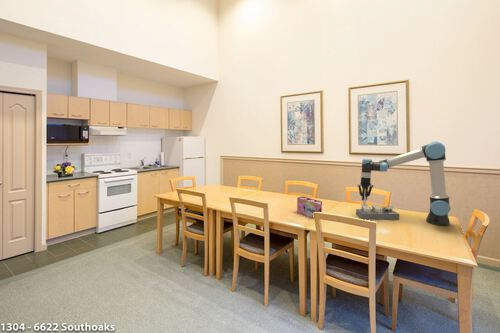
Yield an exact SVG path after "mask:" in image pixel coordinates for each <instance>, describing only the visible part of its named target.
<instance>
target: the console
mask: <svg viewBox="0 0 500 333" xmlns="http://www.w3.org/2000/svg"><path fill="white" fill-rule="evenodd" d="M379 207H380V208H381V210H382V207H383V210H382V212H375V210H374V207H372V206H371V207H370V206H369V208H370V209H371V212H364V210H363V207H361V208H356V209H355V215H356V216H357V217H358V216H359V217H358V218H359V219H361V220H362V219H366V220H367V221H370V220H371V221H372V220H373V221H376V220H377V221H379V220H380V221H381V220H382V221H399V220H400V213H399V212H396V211H394V209H389V210H385V208H384V207H385V206H382V207H381V206H379ZM369 219H370V220H369ZM374 219H376V220H374ZM366 220H365V221H366Z"/></svg>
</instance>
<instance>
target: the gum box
mask: <svg viewBox="0 0 500 333" xmlns="http://www.w3.org/2000/svg"><path fill="white" fill-rule="evenodd" d="M296 201H297V204H296V205H297V206H296V213H298V214H302V215H303V216H307V217H310V218H313V212H322V211H323V207H322V206H323V202H322V201H320V200H318V199H317V200H316V199H313V198H310V197H306V196H299V197H297V199H296ZM322 213H323V212H322ZM313 219H314V218H313Z"/></svg>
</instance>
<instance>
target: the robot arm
mask: <svg viewBox="0 0 500 333" xmlns="http://www.w3.org/2000/svg"><path fill="white" fill-rule="evenodd" d="M423 158H424V159H426V162H427V163H428V165H429V166H428V167H429V175H430V187H431V188H430V190H431V195H429V212H428V213H427V217H426V218H425V222H426V223H428V224H431V225H433V226H434V225H435V226H441V227H447V226H450V219H449V218H450V217H449V215H448V214H449V213H450V211H451V206H450V205H451V204H450V196H449V195H448V194H447V190H446V189H447V188H446V179H445V178H446V175H445V166H444V162H445V161H446V158H447V157H446V147H445V145H444V144H443V143H442V142H439V141H432V142H429V143H427V144H426V145H422V146H420V148H418V149H414V150H411V151H409V152H406V153H402V154H399V155H395V156H392V157H388V158H386V159H383V160H379V161H373V159H371V158H363V159H362V162H361V173H360V174H361V176H360V183H359V184H357V188H358V192H359V196H361V200H362V204H367V203H366V202H367V201H368V197H370V195H371V193H372V190H373V187H374V185H373V184H372V183H371V181H372V180H371V177H372V172H384V173H385V172H388V169H390V168H392V167H396V166H399V165H403V164H405V163H409V162H414V161H415V160H420V159H423Z"/></svg>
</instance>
